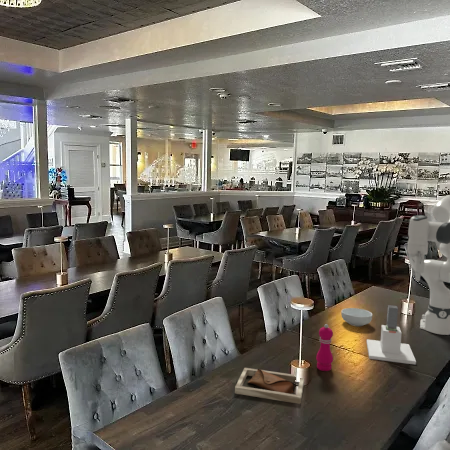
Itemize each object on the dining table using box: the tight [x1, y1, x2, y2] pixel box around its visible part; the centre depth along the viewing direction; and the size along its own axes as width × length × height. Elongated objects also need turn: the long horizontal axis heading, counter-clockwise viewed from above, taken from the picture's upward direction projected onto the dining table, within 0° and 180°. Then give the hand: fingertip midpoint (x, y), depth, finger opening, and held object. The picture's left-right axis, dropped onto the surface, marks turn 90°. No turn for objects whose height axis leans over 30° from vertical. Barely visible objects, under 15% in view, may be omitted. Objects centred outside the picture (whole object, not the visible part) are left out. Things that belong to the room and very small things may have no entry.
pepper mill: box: [315, 323, 334, 372], centre depth 181 cm, size 7×7×20 cm
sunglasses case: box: [247, 368, 296, 394], centre depth 164 cm, size 18×7×7 cm, turn 51°
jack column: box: [386, 304, 399, 331], centre depth 197 cm, size 4×4×16 cm
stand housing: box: [365, 324, 417, 365], centre depth 198 cm, size 20×20×12 cm
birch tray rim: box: [234, 367, 305, 405], centre depth 164 cm, size 17×25×2 cm
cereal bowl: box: [340, 307, 373, 327], centre depth 237 cm, size 17×17×7 cm
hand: (415, 277), depth 199 cm, fingers open, 8 cm apart
